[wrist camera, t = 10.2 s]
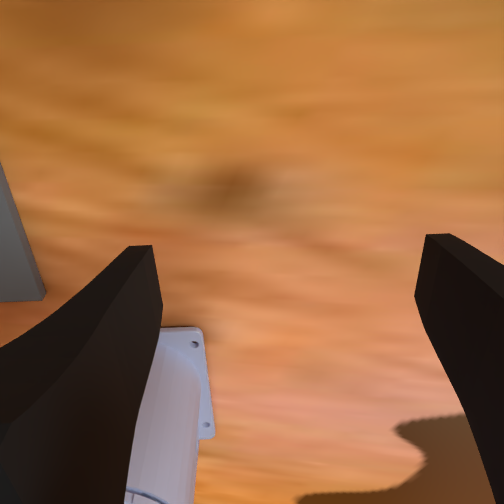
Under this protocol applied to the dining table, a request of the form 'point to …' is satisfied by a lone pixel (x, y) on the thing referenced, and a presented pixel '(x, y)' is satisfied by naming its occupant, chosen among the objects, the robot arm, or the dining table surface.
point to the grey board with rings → (16, 254)
